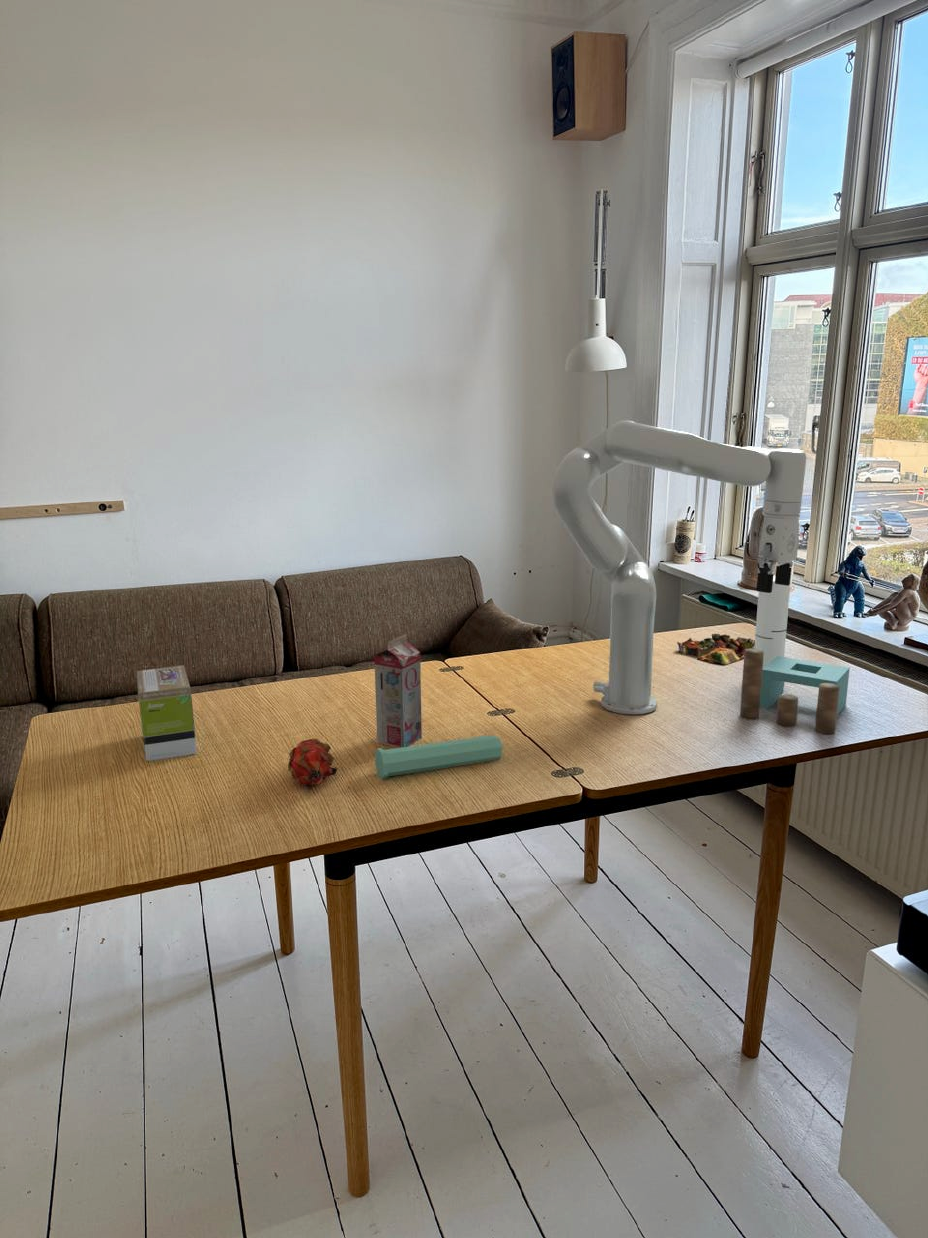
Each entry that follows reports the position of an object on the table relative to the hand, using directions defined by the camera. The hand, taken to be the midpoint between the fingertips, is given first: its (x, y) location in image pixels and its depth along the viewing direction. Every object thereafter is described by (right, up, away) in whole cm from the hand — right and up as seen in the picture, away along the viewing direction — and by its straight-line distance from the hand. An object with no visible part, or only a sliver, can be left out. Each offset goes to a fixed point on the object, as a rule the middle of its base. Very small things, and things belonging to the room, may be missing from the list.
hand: (773, 588), depth 199 cm
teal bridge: (+10, -26, +11) cm, 30 cm away
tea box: (-127, -33, -9) cm, 131 cm away
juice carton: (-80, -32, -7) cm, 86 cm away
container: (-71, -36, -20) cm, 82 cm away
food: (+3, -16, +53) cm, 55 cm away
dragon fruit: (-95, -37, -27) cm, 105 cm away
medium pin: (+10, -30, -4) cm, 32 cm away
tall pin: (-4, -28, +5) cm, 29 cm away
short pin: (+3, -29, 0) cm, 29 cm away
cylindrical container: (+9, -21, +31) cm, 39 cm away
